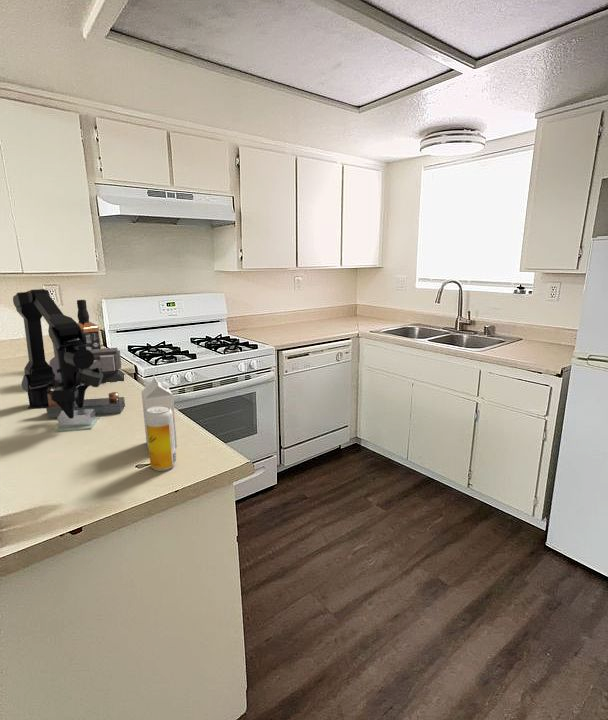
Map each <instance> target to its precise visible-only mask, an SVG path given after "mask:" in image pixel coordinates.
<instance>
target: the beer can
mask: <svg viewBox="0 0 608 720" xmlns="http://www.w3.org/2000/svg"><path fill="white" fill-rule="evenodd" d="M146 424H147V434H148V444H149V448H148V454H149V462H150V467H151V468H152V469H153V470H154V471H156V472H164V471H168V470H171V469H173V467H174V466H175V465H176V464H177V453H176V447H175V438H174V426H173V413H172V411H171V409H170V407H169V406H164V405H161V406H154V407H151V408H149V409H148V410H147V413H146Z"/></svg>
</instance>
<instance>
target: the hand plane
mask: <svg viewBox="0 0 608 720" xmlns="http://www.w3.org/2000/svg"><path fill="white" fill-rule="evenodd" d="M51 393H52V392H50V393H48V394H47V396H48V403H49V407H45V408H46V409H45V410H46V415H47V419H48V418H52V419H58V416H59V415H60V414H61V413H60V412H61V411H62V409H61V407H60V406H59V405H58V404H57V403H56V402H54V401H52V400H51V396H50V394H51ZM107 396H108V397H105V398H102V397H101V398H84V403H83V407H82V408H79V407H78V405H77V404H76V402H75V401H74V410H84V409H95V416H106V415H117V414H120V413H121V412H123V411H124V409H125V408H124V407H126V403H125V397H124V396H120V395H119V392H116V391H113V392H109V393H108V395H107ZM121 414H122V413H121Z"/></svg>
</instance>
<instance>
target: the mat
mask: <svg viewBox="0 0 608 720" xmlns="http://www.w3.org/2000/svg"><path fill="white" fill-rule="evenodd" d="M95 417H96V420H95V421H94V422H93V424H92V425H87V426H74V427H61V428H59V425H58V426H57V427H56V428H55V429H54V433H58V432H59V433H60V432H61V431H62V432H73V430H75V431H84V430H85V431H87V430H92V429H93V428H94V426H95V425H96V424H97V422H98V421H97V420H99V419H100V417H99V416H95Z"/></svg>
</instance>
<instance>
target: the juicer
mask: <svg viewBox="0 0 608 720" xmlns="http://www.w3.org/2000/svg"><path fill="white" fill-rule="evenodd" d="M77 340H79V338H78V339H77ZM72 341H73V340H72ZM51 343H52V348H53V354H54V357H52V358H51V359H50V360H49V362H48V364H49V365H50V366H51V367H52V368H53V372H54V374H55V385H54V387H51V388H57V387H64V386H59V382H60V381H61V379H60V373H57V369H58V368H59V365H58V358H57V351H56V348H55V344H54V343H53V341H52V340H51ZM89 351H91V352H92V354H93V356H94V362H93V364H92V365H91V366H90V367H89V368H87V369H85V370H91V371H92V370H93V369H94V368H95V367H97V368H100V369H101V372H102V373H103V378H102V381H101V384H106V382H110V383H118V382H117V381H121V382H125V381H124V375H125V376H126V374H125V372H123V371H122V370H121V369H122V356H121V350H118V347H108V348H107V347H106V348H101V349H90V350H89Z"/></svg>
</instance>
